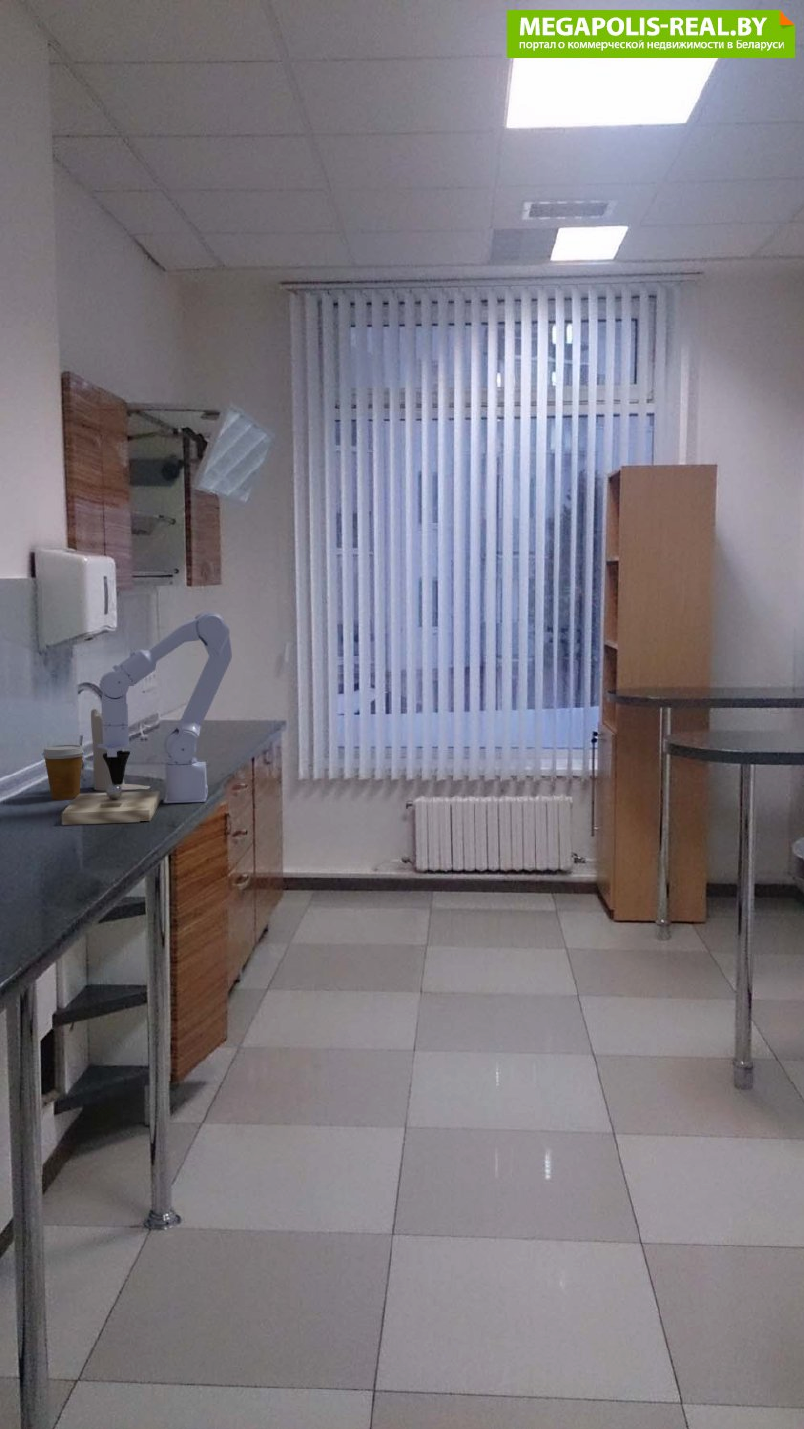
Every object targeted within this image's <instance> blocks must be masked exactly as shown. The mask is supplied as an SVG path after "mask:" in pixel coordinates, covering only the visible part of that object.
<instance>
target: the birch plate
mask: <svg viewBox="0 0 804 1429" xmlns="http://www.w3.org/2000/svg"><path fill="white" fill-rule="evenodd" d="M160 803H161V792H160V790H155V791H154V790H153V791H151V790H150V791H149V790H148V791H126V792H125V791H122V795H121V797H120V798H118V799H115V800H113V799H110V798H109V797H108V796H107V794H106V792H95V793H94V792H93V793H91V792H90V793H80V794H79V795H78V796H77V797H76V798H74V799H72V801H71V802H70V804H68V806H67V807H66V808H65V809H64V810H63V811H62V812H61V824H62V825H63V826H65V825H66V826H67V825H69V826H71V825H73V826H74V825H96V824H121V823H122V824H123V823H141V822H140V821H150V822H151V821H152V818H153V816H154V814H155V813H156V811H157V809H158V806H159V805H160Z"/></svg>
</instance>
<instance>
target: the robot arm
mask: <svg viewBox="0 0 804 1429" xmlns="http://www.w3.org/2000/svg"><path fill="white" fill-rule="evenodd" d="M230 639H231V638H230V629H229V627H228V624H227V623H226V621H225V619H224V618H223V617H222V616H221V615H220V614H218V613H215V612H209V611H208V612H207V611H204V612H201V613H198V614H197V615H196V616H195V617H193V618H191V619H188V620H187V621H185V622H183V623H182V624H180V625H179V626H178V627H176V628H175V629H174V630H173V631H171V632H170V633H169V634H167V635H166V636H165V637H163V638H162V639H161V640H159V641H158V642H157V643H156V644H155V645H153V646H152V647H151V648H149V650H146V649H145V650H144V649H138V650H137V651H135V650H132V651H131V652H130V653H129V657H127V658H126V659H125V660H123V661H122V662H120V664H118V665H117V664H114V665H113V666H112V669H113V670H114V671H113V670H109V671H107V672H106V673H104V674H103V675H102V676H101V679H100V680H99V684H98V687H99V689H100V691H101V692H102V694H101V702H102V704H101V713H102V728H103V744H98V748H103V749H105V750H107V753H104V754H103V758H104V760H105V762H106V764H107V766H108V769H109V772H110V777H111V781H112V784H122V783H123V780H124V781H125V771H126V765H127V762H128V760H129V756H130V755H131V751H128V750H126V749H128V748H130V747H131V743H130V735H129V731H130V730H129V714H128V713H129V710H128V708H129V707H128V706H129V705H128V703H127V693H128V691H129V688H130V687H134V686H135V685H136V684H138V683H140V681H142V680H143V679H145V678H147V677H148V676H149V675H150V674H151V673H153V672H154V671H155V670H156V669H157V668H156V667H157V662H159V661H160V660H161V659H163V658H164V657H166V656H167V655H168V654H170V653H172V652H173V651H174V650H176V649H177V648H179V647H180V646H182V645H183V644H185V643H188V642H196V641H198V642H199V641H201V642H202V643H203V646H204V648H205V650H206V653H207V655H208V657H207V660H206V663H205V665H204V667H203V670H202V672H201V674H200V676H199V678H198V680H197V683H196V685H195V687H194V690H193V692H192V694H191V696H190V698H189V701H188V703H187V705H186V707H185V709H184V711H183V714H182V716H181V718H180V719H179V721H177V723H176V724H175V728H174V729H173V730H172V731H171V732H170V733H169V734H168V735H167V736H166V738H165V740H164V744H163V746H164V750H165V751H166V753H167V754H168V756H167V758H166V759H165V760H164V765H165V766H164V767H165V768H164V769H165V770H164V771H165V792H166V794H165V795H166V796H165V798H164V799H163V804H175V803H176V804H178V803H179V804H180V803H181V804H182V803H204V802H205V803H206V801H207V798H208V793H209V789H208V788H209V786H208V784H207V782H208V780H207V764H206V763H207V762H205V761H198V759H197V757H196V754H197V751H198V748H197V746H198V745H197V744H198V739H200V738H199V737H200V733H201V727H202V725H203V722H204V721H205V719H206V716H207V714H208V711H209V709H210V707H211V705H212V703H213V701H214V699H215V695H216V694H217V692H218V689H219V687H220V686H221V683H222V681H223V678H224V676H225V674H226V672H227V670H228V669H229V668H228V667H229V666H230V662H231V661H232V657H233V653H232V646H231V645H232V644H231V640H230ZM122 749H124V751H122Z"/></svg>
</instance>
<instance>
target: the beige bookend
mask: <svg viewBox="0 0 804 1429" xmlns="http://www.w3.org/2000/svg"><path fill="white" fill-rule="evenodd" d="M90 728H91V739H92V758H93V760H92V762H93V764H92V765H93V766H92V769H93V770H92V771H93V785H94V786H93V788H94V790H95V791H100V792H101V791H102V792H103V791H105V792H106V789H107V787H108V786H109V785H111V784H112V781H111V777H110V772H109V769H108V766H107V764H106V762H105V760H104V758H103V754H104V753H107V750H105V749H103V748H98V744H103V728H102V712H100V711H99V709H98V708H93V709H91V711H90ZM122 751H125V749H122ZM118 785H119V786H120V787H121V788H122V791H136V790H137V791H139V790H149V789H150V788H151V786H150V785H142V784H134V783H133V784H132V783H125V779H124V780H123V783H122V784H118Z"/></svg>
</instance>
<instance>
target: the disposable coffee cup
mask: <svg viewBox="0 0 804 1429" xmlns="http://www.w3.org/2000/svg"><path fill="white" fill-rule="evenodd" d="M84 753H85V750H84V749H83V745H80V744H57V745H55V744H54V745H50V746H45V747H44V748H43V752H42V753H41V755H42V756H43V758H44V762H45V769H46V772H47V779H48V784H49V790H50V795H51V799H53V800H57V801H63V800H66V801H67V800H74V799H75V798H76V797H77V796H78V795H79V794H81V793H80V792H81V777H82V767H83V756H84Z"/></svg>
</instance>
